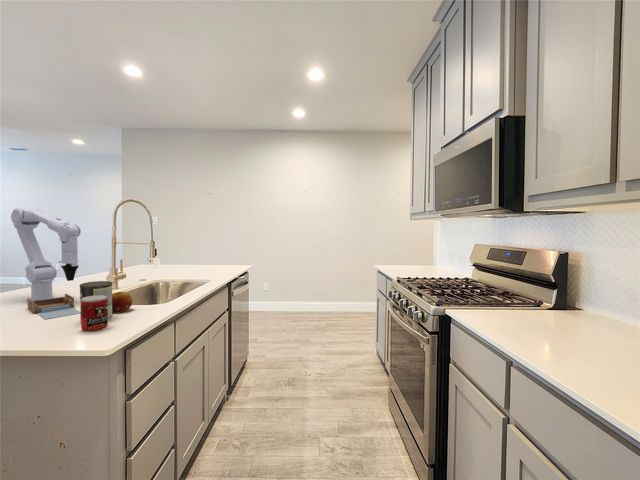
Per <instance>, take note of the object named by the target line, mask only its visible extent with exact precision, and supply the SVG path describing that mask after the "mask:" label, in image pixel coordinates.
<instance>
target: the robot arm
mask: <svg viewBox="0 0 640 480" xmlns="http://www.w3.org/2000/svg"><path fill="white" fill-rule="evenodd" d="M10 219H11V221H12V224H13V226H14V228H15V229H16V232H17V234H18V237H19V239H20V242H21V244H22V247H23V249H24V252H25V254H26V257H27V259H28V262H29V264H28V265H27V266H26V267H24V268H25V269H24V270H25V277H26V280H27V281H28V282H29V283H31V286H30V291H31V293H30V294H31V297H29V299H30V300H31V301H37V300H44V299H52V298H54V297H53V281H55V279H56V277H57V275H58V270H57V268H55V266H53V263H52V262H51V261H48V260H46V259H45V258H44V257H45V256H44V254H43V252H42V249H41V247H40V245H39V242H38V240H37V237H36V235H35V233H34V229H36V228H38V227H39V225H40V223H42V224H45V225H46V226H47V228H48V230H49V229H50V230H51V231H53V232H55V233H57V234H58V236H59V240H60V244H61V246H60V247H61V260H59V261H58V263H59V264H63V265H60V267H61V269H62V270H63V272H64V276H65V279H66V281H68V282H69V281H70V282H71V281H74V279H75V276H76V272H77V270H78V268H79V265H78V264H79V263H78V262H79V259H78V237H79V236H80V235H81V231H82V230H81V228H80V226H79V225H77V224H70V223H69V222H67V221H64V220H62V218H61V217H54V218H53V217H51V216H49V215H47V214H46V213H45V212H44V211H43V210H41V209H37V208H36V209H34V208H33V209H32V208H30V209H29V208H20V207H19V208H17V207H16V208H14V209H13V210H12V212H11V215H10Z"/></svg>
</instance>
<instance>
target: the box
mask: <svg viewBox="0 0 640 480" xmlns="http://www.w3.org/2000/svg"><path fill="white" fill-rule="evenodd" d="M29 298H30V297H29ZM29 298H27V309H28V310H29V311H30V312H31V313H33V314H34V315H36V314H37V313H41V309H42V308H49V307H56V306H62V305H70V308H74V309H75V298H74V297H73V296H72V295H69V294H68V293H65V294H64V296H59V297H53V298H52V299H44V300H37V301H31V300H30V299H29ZM37 315H38V314H37Z"/></svg>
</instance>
